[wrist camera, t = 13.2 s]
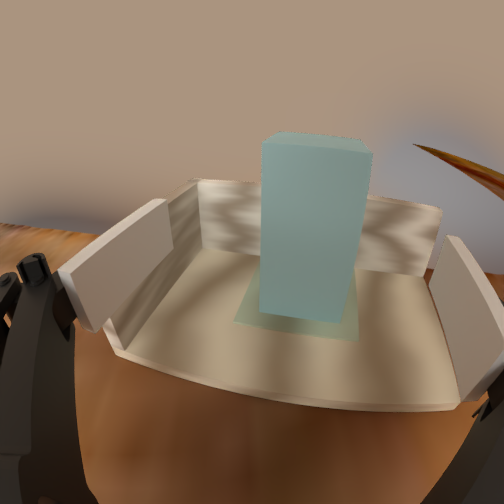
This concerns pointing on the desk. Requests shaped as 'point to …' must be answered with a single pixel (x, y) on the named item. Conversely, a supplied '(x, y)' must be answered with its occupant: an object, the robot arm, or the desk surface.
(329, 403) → the arena
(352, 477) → the desk surface
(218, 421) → the desk surface
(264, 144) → the teal block
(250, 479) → the desk surface
